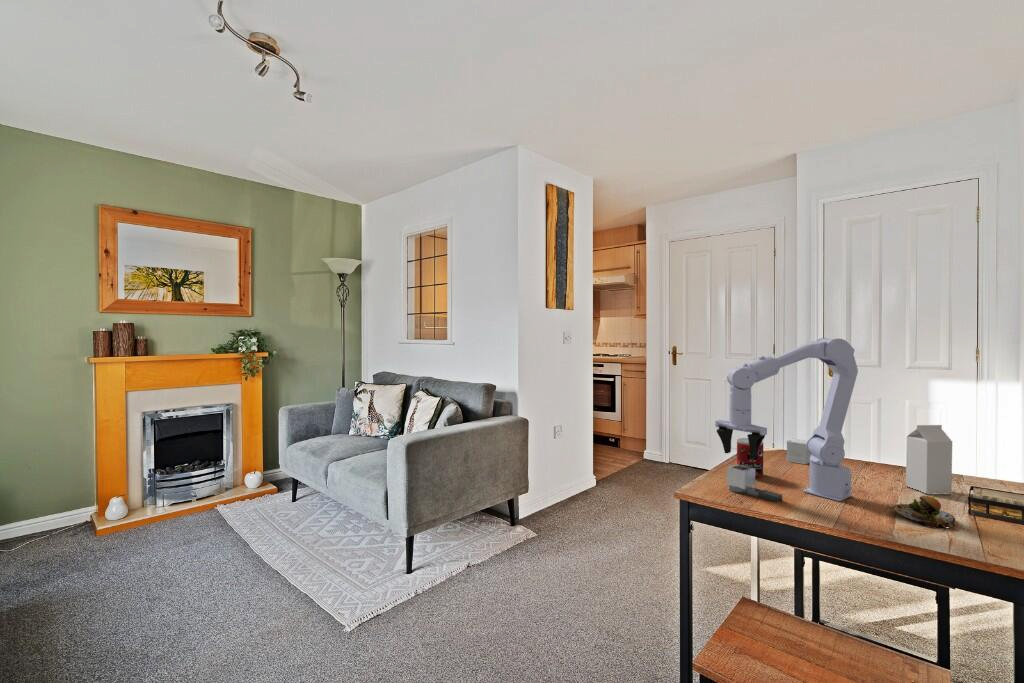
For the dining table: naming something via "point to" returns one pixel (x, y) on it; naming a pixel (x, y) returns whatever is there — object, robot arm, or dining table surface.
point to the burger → (926, 512)
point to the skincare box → (797, 451)
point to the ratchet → (758, 493)
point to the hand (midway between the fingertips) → (740, 455)
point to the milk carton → (929, 460)
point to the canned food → (744, 456)
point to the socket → (741, 476)
